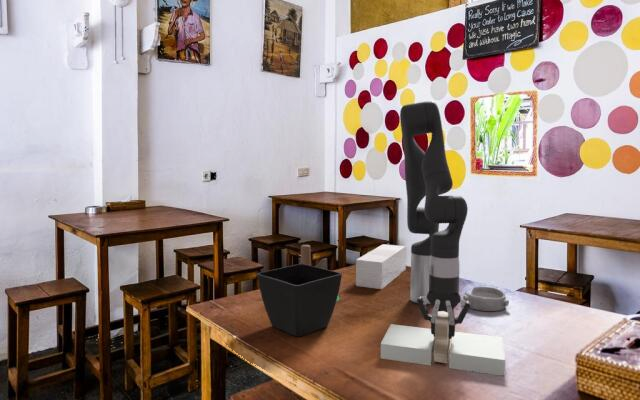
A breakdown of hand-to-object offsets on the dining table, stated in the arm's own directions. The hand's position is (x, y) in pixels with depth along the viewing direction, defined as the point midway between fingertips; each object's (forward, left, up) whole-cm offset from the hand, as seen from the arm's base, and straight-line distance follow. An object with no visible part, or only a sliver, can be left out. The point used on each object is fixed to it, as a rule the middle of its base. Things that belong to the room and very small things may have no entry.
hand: (442, 336), depth 123 cm
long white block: (-68, -30, -6) cm, 75 cm away
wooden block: (-38, -50, -5) cm, 63 cm away
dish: (-44, +11, -6) cm, 46 cm away
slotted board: (0, 0, -5) cm, 5 cm away
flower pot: (-7, -43, -5) cm, 44 cm away
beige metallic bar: (0, 0, -4) cm, 4 cm away
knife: (-28, -40, -6) cm, 49 cm away
